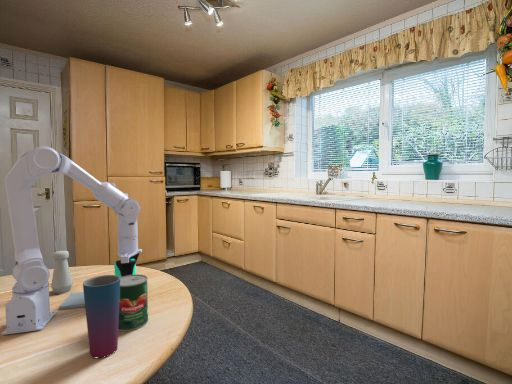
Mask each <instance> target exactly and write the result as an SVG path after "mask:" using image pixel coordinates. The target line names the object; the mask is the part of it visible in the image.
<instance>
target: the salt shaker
mask: <svg viewBox="0 0 512 384" xmlns="http://www.w3.org/2000/svg"><path fill="white" fill-rule="evenodd" d="M69 257H70V253H69V251H68V250H57V251H54V252H53V253H52V259H53V260H54V266H53V273H52V278H51V284H50V285H51V286H50V287H51V289H52V291H53V293H54V294H58V295H59V294H64V293H68V292H70V291H71V288H72V286H73V283H74V281H73V277H72V274H71V271H70V267H69V263H68V258H69Z"/></svg>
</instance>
